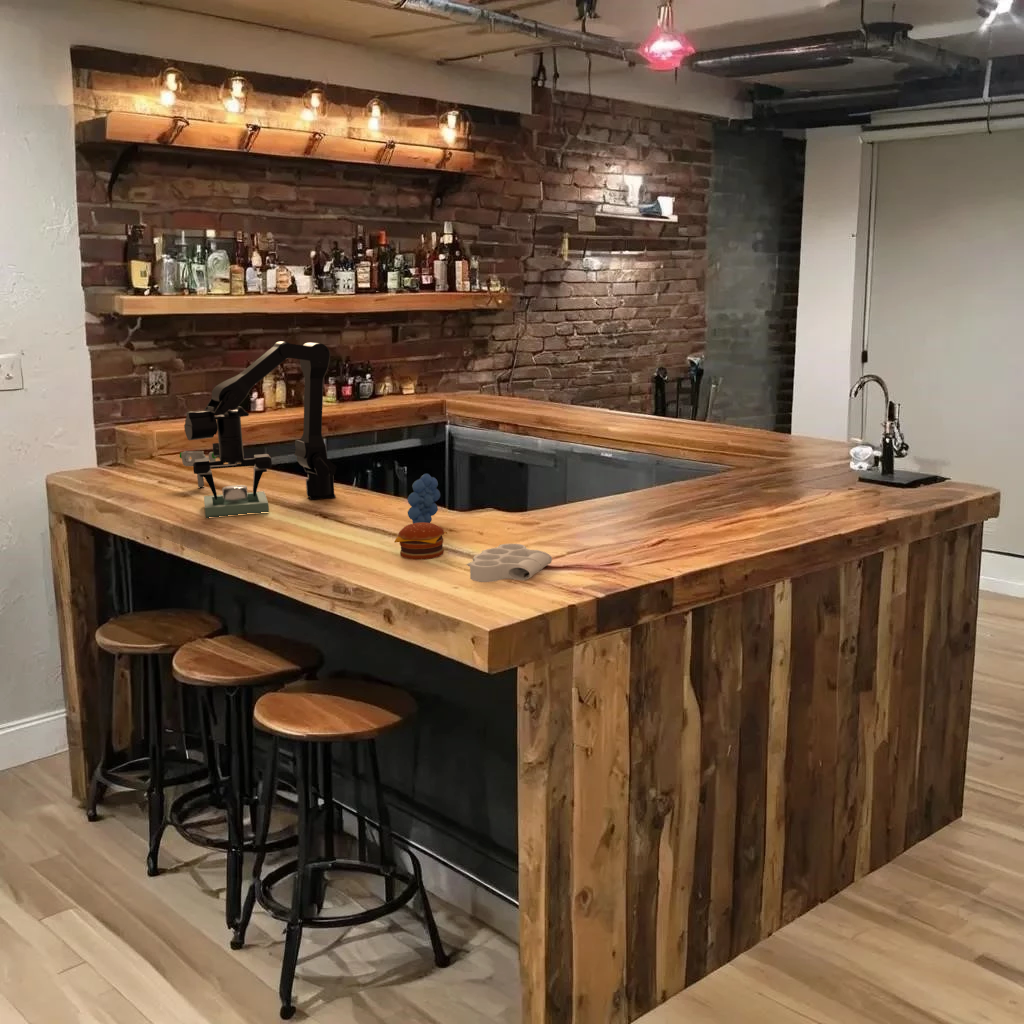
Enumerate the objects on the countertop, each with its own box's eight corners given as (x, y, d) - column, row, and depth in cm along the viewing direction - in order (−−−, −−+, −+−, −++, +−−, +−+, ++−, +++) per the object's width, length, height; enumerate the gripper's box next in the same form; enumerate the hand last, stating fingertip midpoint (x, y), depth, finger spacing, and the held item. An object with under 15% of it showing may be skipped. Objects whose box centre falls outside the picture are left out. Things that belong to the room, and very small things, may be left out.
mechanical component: (216, 489, 308) (212, 452, 306) (181, 488, 310) (178, 452, 308) (220, 486, 311) (217, 450, 308) (186, 486, 313) (183, 450, 310)
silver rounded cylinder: (247, 503, 285) (246, 484, 284) (249, 508, 279) (247, 488, 278) (223, 505, 283) (221, 486, 282) (224, 510, 278) (222, 490, 276)
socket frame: (264, 501, 290) (264, 491, 290) (269, 513, 276) (268, 502, 276) (204, 506, 286) (203, 496, 286) (205, 518, 272) (204, 508, 272)
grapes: (423, 519, 265) (421, 468, 263) (447, 521, 262) (445, 470, 259) (395, 529, 255) (392, 477, 253) (419, 532, 252) (417, 480, 250)
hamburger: (394, 560, 230) (392, 528, 229) (407, 548, 239) (406, 518, 238) (438, 561, 228) (436, 529, 227) (450, 549, 237) (449, 518, 236)
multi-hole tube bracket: (524, 587, 210) (452, 581, 215) (557, 563, 226) (490, 557, 231) (523, 570, 209) (452, 564, 214) (557, 546, 225) (490, 541, 231)
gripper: (266, 428, 287) (271, 488, 291) (190, 433, 282) (196, 494, 286) (269, 434, 277) (274, 497, 280) (190, 440, 272) (196, 503, 275)
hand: (235, 497), depth 281 cm, fingers open, 9 cm apart
